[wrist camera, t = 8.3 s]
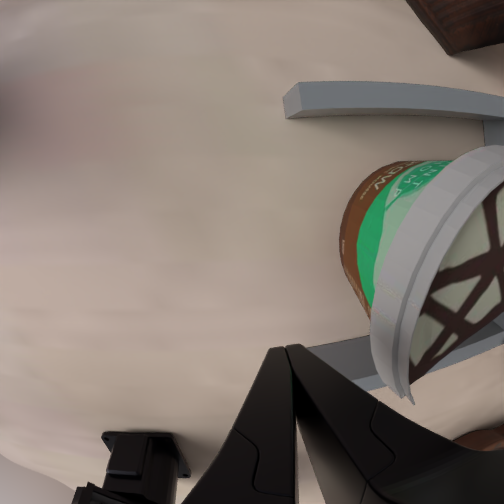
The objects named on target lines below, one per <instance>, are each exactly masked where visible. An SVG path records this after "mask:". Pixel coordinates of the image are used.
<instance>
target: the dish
mask: <svg viewBox="0 0 504 504" xmlns="http://www.w3.org/2000/svg"><path fill="white" fill-rule="evenodd" d="M453 442H455V443H457V444H460V445H462V446H465V447H467V448H470V449H474V450H480V451H492V450H501V449H504V424H502V425H500V426H499V427H497V428H495V429H493V430H479V431H474V432H471V433H469V434H467V435H464V436H462V437H460V438H458V439H456V440H455V441H453Z"/></svg>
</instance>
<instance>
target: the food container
mask: <svg viewBox="0 0 504 504" xmlns="http://www.w3.org/2000/svg"><path fill="white" fill-rule="evenodd" d="M339 248H340V257H341V262H342V266H343V269H344V271H345V274H346V276H347V278H348V280H349V282H350V284H351V285H352V287H353V289H354V291H355V293H356V295H357V296H358V298H359V300H360V302H361V304H362V306H363V308H364V310H365V312H366V314H367V315H368V317H369V319H370V321H371V322H370V341H371V353H372V356H373V360H374V363H375V367H376V370H377V372H378V374H379V375H380V377H381V379H382V381H383V382H384V383H385V384H386V385H387V386H388V387H389V388H390V389H391V390H392V391H393V392H395V393H396V394H397V395H398V396H399V397H400V398H401V399H402V398H403V397H404V396H405V395H406V396H407V397H408V399H409V400H410V401H411V403H412V404H413V405H415V402H414V400H413V397H412V395H411V391H410V385H411V384H412V383H413V382H415V381H416V380H418V379H419V378H421V377H422V376H424V375H425V374H426V373H427V372H428V371H429V370H430V369H431V368H432V367H434V366H435V365H436V364H437V363H438V362H439V361H440V360H442V359H443V358H444V357H445V356H447V355H448V354H449V353H450V352H452V351H453V350H454V349H455V348H457V347H458V346H459V345H460V344H462V343H463V342H464V341H465V340H467V339H468V338H469V337H471V336H472V335H474V334H475V333H476V332H478V331H479V330H481V329H482V328H483V327H485V326H486V325H487V324H489V323H490V322H491V321H493V320H494V319H495V318H497V317H498V316H499V315H500V314H501V313H503V312H504V146H502V145H491V146H484V147H479V148H477V149H474V150H472V151H470V152H467V153H465V154H463V155H461V156H460V157H459V158H457V159H456V160H454V161H402V162H395V163H392V164H390V165H387V166H384V167H381V168H380V169H378V170H377V171H375V172H373V173H372V174H371V175H370V176H368V177H367V178H366V179H365V180H364V181H363V182H362V183H361V184H360V186H359V187H358V188H357V189H356V191H355V192H354V194H353V195H352V197H351V199H350V201H349V202H348V205H347V207H346V210H345V212H344V215H343V219H342V223H341V227H340V237H339Z"/></svg>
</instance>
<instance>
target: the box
mask: <svg viewBox="0 0 504 504" xmlns="http://www.w3.org/2000/svg"><path fill="white" fill-rule="evenodd" d="M283 101H284V109H285V116H286V119H289V118H302V117H317V116H338V115H420V116H440V117H454V118H466V119H476V120H483V127H484V139H485V146H491V145H502V146H504V97H501V96H496V95H491V94H485V93H480V92H474V91H468V90H461V89H454V88H447V87H439V86H430V85H419V84H407V83H392V82H369V81H320V82H298V83H297V84H296V85H295V86H294V87H293V88H292V89H291V90H290V91H289V92H288V93H287V94H286V95H285V96H284V97H283ZM501 344H504V312H503V313H501V314H500V315H499V316H498V317H497V318H495V319H494V320H493V321H491V322H490V323H489V324H487V325H486V326H485V327H483V328H482V329H481V330H479V331H478V332H476V333H475V334H474V335H472V336H471V337H469V338H468V339H467V340H465V341H464V342H463V343H462V344H460V345H459V346H458V347H457V348H455V349H454V350H453V351H452V352H450V353H449V354H448V355H447V356H445V357H444V358H443V359H442V360H440V361H439V362H438V363H437V364H436V365H435V366H434V367H432V368H431V369H430V370H429V371H428V372H427V373H430V372H433V371H436V370H439V369H442V368H445V367H447V366H450V365H453V364H455V363H458V362H461V361H463V360H466V359H468V358H471V357H473V356H476V355H478V354H481V353H483V352H485V351H488V350H490V349H492V348H495V347H497V346H499V345H501ZM307 349H308V350H309V351H311V352H312V353H313V354H315V355H316V356H318V357H319V358H320V359H322V360H323V361H324V362H326V363H327V364H329V365H330V366H331V367H333V368H334V369H335V370H337V371H338V372H340V373H341V374H342V375H344V376H345V377H347V378H348V379H349V380H351V381H352V382H354V383H355V384H356V385H358V386H359V387H361V388H362V389H363V390H365V391H370V390H374V389H378V388H382V387H385V386H387V385H386V384H385V383H384V382H383V381H382V379H381V377H380V375H379V374H378V372H377V370H376V367H375V363H374V360H373V356H372V353H371V341H370V335H369V336H364V337H360V338H355V339H350V340H346V341H341V342H336V343H331V344H326V345H320V346H315V347H309V348H307ZM427 373H426V374H427Z"/></svg>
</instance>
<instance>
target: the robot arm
mask: <svg viewBox="0 0 504 504" xmlns="http://www.w3.org/2000/svg"><path fill="white" fill-rule="evenodd" d="M296 420H297V424H298V427H299V430H300V433H301V435H302V438H303V441H304V444H305V447H306V450H307V452H308V455H309V458H310V461H311V464H312V466H313V469H314V472H315V475H316V478H317V480H318V483H319V486H320V489H321V492H322V494H323V497H324V500H325V503H326V504H504V449H501V450H492V451H480V450H474V449H470V448H467V447H465V446H462V445H460V444H457V443H455V442H453V441H451V440H449V439H447V438H445V437H443V436H441V435H438V434H436V433H434V432H432V431H430V430H428V429H426V428H424V427H422V426H420V425H418V424H416V423H415V422H413V421H411V420H409V419H407V418H405V417H404V416H402V415H401V414H399V413H397V412H396V411H394V410H393V409H391V408H390V407H388V406H387V405H385V404H384V403H382V402H381V401H379V402H378V399H376V398H375V397H373V396H372V395H371V394H369V393H368V392H366V391H365V390H363V389H362V388H361V387H359V386H358V385H356V384H355V383H354V382H352V381H351V380H349V379H348V378H347V377H345V376H344V375H342V374H341V373H340V372H338V371H337V370H335V369H334V368H333V367H331V366H330V365H329V364H327V363H326V362H324V361H323V360H322V359H320V358H319V357H318V356H316V355H315V354H313V353H312V352H311V351H309V350H308V349H307V348H305V347H304V346H303V345H301V344H293V345H287V346H286V347H285V348H284V347H283V346H280V347H274V348H270V349H269V350H268V352H267V354H266V356H265V359H264V361H263V363H262V365H261V367H260V370H259V372H258V374H257V376H256V378H255V380H254V383H253V385H252V387H251V389H250V391H249V393H248V395H247V397H246V399H245V402H244V404H243V406H242V408H241V410H240V412H239V414H238V416H237V418H236V420H235V422H234V424H233V426H232V429H231V430H230V432H229V434H228V436H227V438H226V440H225V442H224V444H223V445H222V447H221V449H220V451H219V453H218V454H217V456H216V457H215V459H214V460H213V462H212V463H211V465H210V466H209V468H208V469H207V471H206V472H205V473H204V475H203V476H202V477H201V479H200V480H199V481H198V482H197V484H196V485H195V486H194V488H193V489H192V490H191V492H190V493H189V494H188V495H187V497H186V498H185V499H184V501H183V502H182V503H181V504H299V486H298V453H297V428H296ZM101 438H102V440H103V442H104V443H105V445H106V446H107V448H108V449H109V451H110V452H111V455H110V459H109V462H108V465H107V469H106V472H107V473H106V476H105V480H104V483H103V487H102V488H100V487H97V486H95V484H93V483H90V482H88V483H87V486H86V487H77V489H76V492H75V495H74V498H73V501H72V504H175V500H176V490H177V481H178V478H189V477H191V471H190V469H189V467H188V465H187V463H186V461H185V459H184V457H183V455H182V453H181V451H180V449H179V447H178V445H177V442H176V440H175V438H174V436H173V435H172V434H169V433H115V432H103V433H102V436H101Z"/></svg>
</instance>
